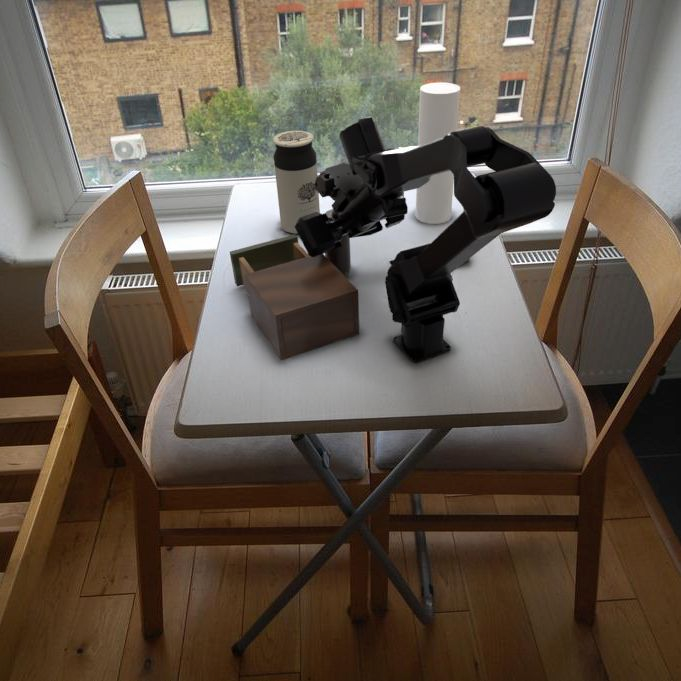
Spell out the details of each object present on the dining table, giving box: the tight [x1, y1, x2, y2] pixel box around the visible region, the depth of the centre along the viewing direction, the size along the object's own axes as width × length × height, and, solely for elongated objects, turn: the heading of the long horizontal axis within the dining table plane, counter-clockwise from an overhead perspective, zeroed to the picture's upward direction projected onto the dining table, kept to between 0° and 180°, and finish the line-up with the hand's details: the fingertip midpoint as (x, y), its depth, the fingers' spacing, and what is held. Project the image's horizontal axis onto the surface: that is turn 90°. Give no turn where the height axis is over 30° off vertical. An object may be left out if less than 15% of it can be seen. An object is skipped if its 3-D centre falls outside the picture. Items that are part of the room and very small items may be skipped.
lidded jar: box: [324, 208, 352, 275], centre depth 106 cm, size 4×4×12 cm
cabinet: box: [245, 254, 360, 361], centre depth 96 cm, size 13×13×8 cm
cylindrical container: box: [415, 81, 461, 225], centre depth 119 cm, size 7×7×25 cm
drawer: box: [229, 233, 309, 294], centre depth 104 cm, size 13×12×6 cm
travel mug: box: [272, 130, 321, 235], centre depth 120 cm, size 8×8×18 cm
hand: (332, 240), depth 108 cm, fingers closed on lidded jar, 4 cm apart
